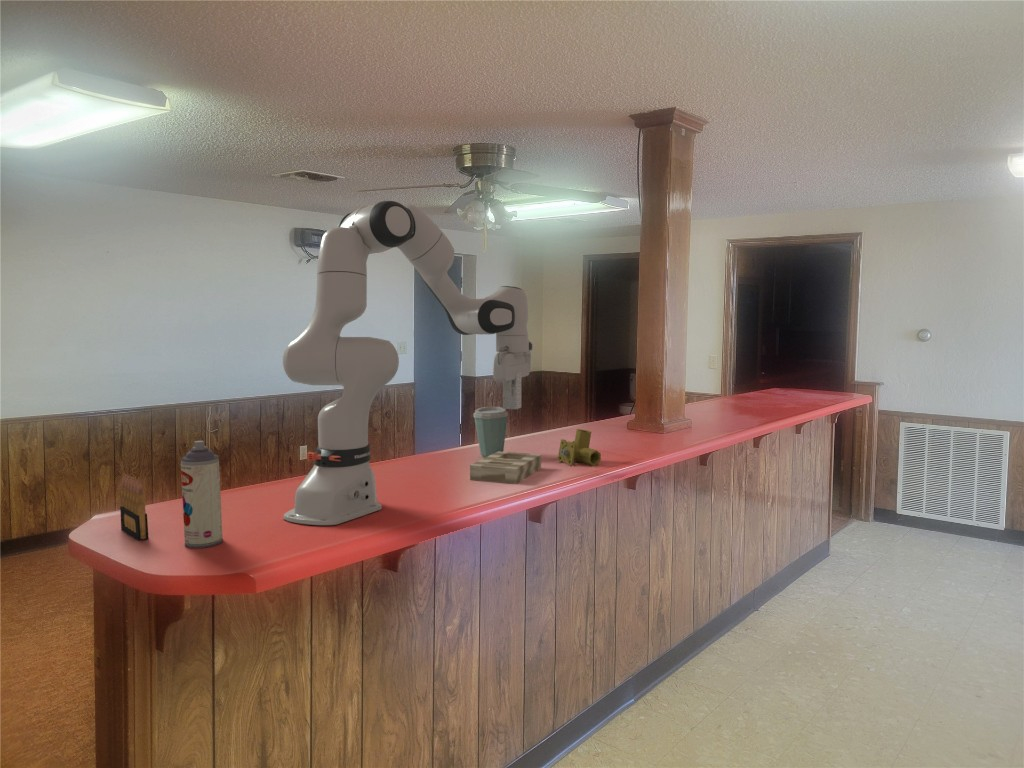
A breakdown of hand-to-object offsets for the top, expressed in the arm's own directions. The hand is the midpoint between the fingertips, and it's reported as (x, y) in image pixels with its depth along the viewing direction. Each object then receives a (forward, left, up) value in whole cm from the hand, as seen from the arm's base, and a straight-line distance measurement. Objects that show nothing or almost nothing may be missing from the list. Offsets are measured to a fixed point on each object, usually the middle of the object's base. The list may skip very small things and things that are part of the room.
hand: (512, 395), depth 203 cm
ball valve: (+16, -14, -22) cm, 30 cm away
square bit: (0, 0, -4) cm, 4 cm away
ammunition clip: (-81, +51, -22) cm, 98 cm away
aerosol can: (-81, +34, -22) cm, 90 cm away
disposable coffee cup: (+15, +13, -22) cm, 29 cm away
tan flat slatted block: (-5, 0, -21) cm, 22 cm away
